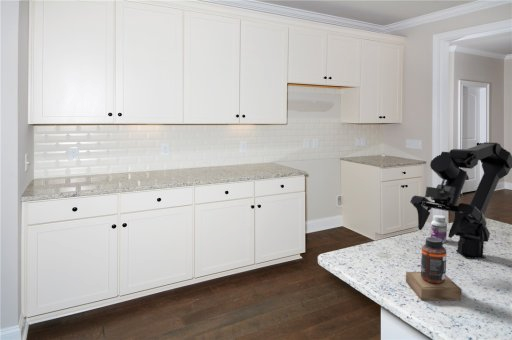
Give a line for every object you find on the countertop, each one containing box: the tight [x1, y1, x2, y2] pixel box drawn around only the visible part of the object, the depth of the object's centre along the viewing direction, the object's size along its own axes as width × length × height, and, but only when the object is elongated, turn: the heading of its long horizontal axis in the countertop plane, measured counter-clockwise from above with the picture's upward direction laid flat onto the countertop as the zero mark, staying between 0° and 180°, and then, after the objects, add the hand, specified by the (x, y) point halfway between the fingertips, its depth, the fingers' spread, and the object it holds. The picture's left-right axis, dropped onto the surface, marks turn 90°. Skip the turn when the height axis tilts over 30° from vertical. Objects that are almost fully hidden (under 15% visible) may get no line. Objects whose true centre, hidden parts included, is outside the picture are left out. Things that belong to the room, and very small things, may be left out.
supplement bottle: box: [420, 236, 447, 283], centre depth 89 cm, size 6×6×11 cm
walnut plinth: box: [405, 271, 463, 301], centre depth 90 cm, size 10×10×3 cm
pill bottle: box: [430, 214, 448, 243], centre depth 126 cm, size 5×5×10 cm
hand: (434, 233), depth 99 cm, fingers open, 9 cm apart
